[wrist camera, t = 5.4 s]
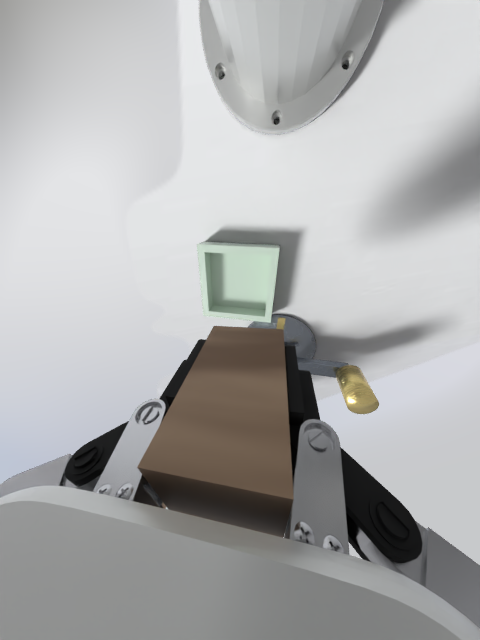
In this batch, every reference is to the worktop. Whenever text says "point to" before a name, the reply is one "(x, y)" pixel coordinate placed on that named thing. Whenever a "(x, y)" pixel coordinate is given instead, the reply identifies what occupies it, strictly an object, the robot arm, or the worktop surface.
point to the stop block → (228, 435)
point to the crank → (345, 383)
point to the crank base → (292, 333)
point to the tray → (238, 279)
